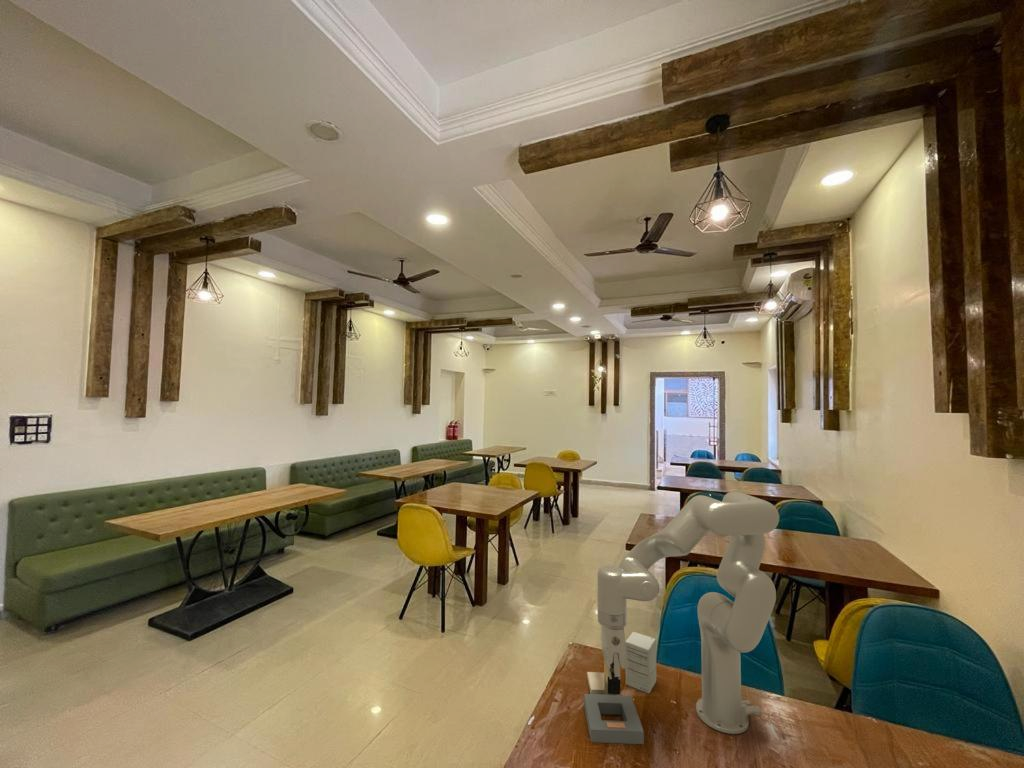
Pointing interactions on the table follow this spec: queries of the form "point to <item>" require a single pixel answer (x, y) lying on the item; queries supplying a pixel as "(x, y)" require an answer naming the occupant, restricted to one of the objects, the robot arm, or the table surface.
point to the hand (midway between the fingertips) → (612, 686)
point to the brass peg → (606, 675)
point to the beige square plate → (596, 683)
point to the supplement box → (640, 662)
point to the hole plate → (613, 730)
